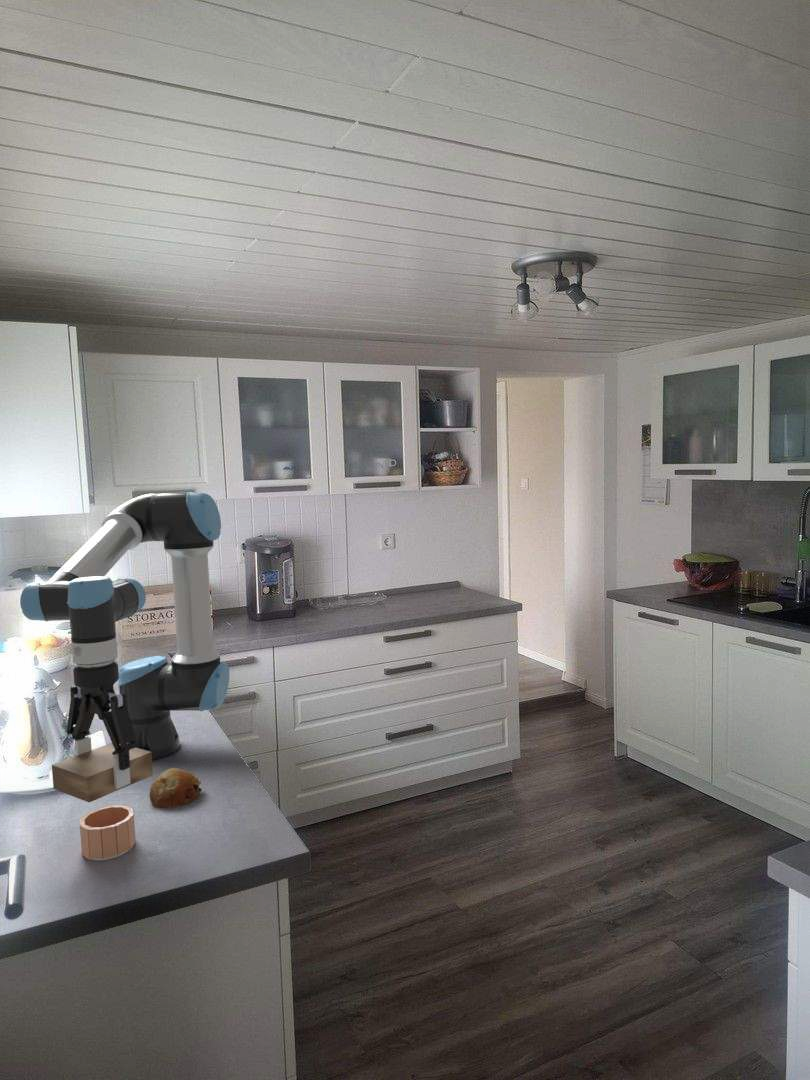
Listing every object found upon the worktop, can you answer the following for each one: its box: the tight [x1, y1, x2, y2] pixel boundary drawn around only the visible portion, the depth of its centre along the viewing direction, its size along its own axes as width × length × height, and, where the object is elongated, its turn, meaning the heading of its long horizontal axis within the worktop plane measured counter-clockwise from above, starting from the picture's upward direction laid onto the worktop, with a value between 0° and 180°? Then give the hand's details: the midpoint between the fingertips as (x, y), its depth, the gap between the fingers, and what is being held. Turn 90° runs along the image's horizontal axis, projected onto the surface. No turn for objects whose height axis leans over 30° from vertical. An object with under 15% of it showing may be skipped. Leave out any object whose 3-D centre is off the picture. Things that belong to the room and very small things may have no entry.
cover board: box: [51, 742, 154, 803], centre depth 131 cm, size 13×11×4 cm
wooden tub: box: [79, 805, 137, 862], centre depth 133 cm, size 9×9×6 cm
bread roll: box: [149, 767, 203, 808], centre depth 153 cm, size 10×10×8 cm
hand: (103, 779), depth 132 cm, fingers closed on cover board, 11 cm apart
